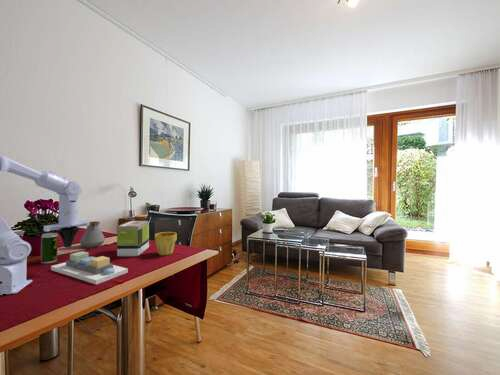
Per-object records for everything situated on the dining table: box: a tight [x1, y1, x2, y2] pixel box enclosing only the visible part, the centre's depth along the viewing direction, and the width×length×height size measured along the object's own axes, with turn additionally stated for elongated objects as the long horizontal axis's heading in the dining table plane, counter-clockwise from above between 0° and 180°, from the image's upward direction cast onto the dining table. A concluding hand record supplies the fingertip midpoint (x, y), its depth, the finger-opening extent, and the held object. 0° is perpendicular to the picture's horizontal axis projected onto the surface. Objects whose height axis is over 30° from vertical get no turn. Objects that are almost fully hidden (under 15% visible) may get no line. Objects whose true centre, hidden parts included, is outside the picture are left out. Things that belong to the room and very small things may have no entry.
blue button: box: [80, 256, 97, 265], centre depth 88 cm, size 4×4×3 cm
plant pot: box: [154, 231, 178, 256], centre depth 112 cm, size 10×10×10 cm
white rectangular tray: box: [50, 259, 129, 285], centre depth 88 cm, size 28×12×4 cm, turn 66°
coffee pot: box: [79, 221, 106, 249], centre depth 118 cm, size 21×12×15 cm, turn 35°
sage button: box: [69, 251, 90, 262], centre depth 90 cm, size 4×4×3 cm
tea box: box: [116, 220, 150, 257], centre depth 114 cm, size 15×10×15 cm, turn 5°
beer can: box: [40, 232, 59, 265], centre depth 97 cm, size 5×5×12 cm
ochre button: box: [90, 255, 111, 268], centre depth 85 cm, size 4×4×3 cm
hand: (67, 246), depth 87 cm, fingers closed
